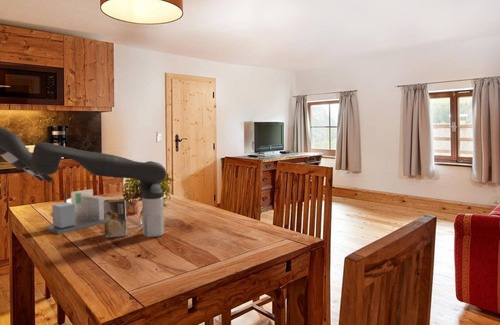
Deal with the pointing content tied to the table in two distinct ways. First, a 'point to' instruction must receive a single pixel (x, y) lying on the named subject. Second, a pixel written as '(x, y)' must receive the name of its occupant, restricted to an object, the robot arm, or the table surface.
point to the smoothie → (132, 207)
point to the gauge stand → (83, 211)
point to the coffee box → (115, 218)
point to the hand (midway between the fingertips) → (46, 180)
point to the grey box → (63, 214)
